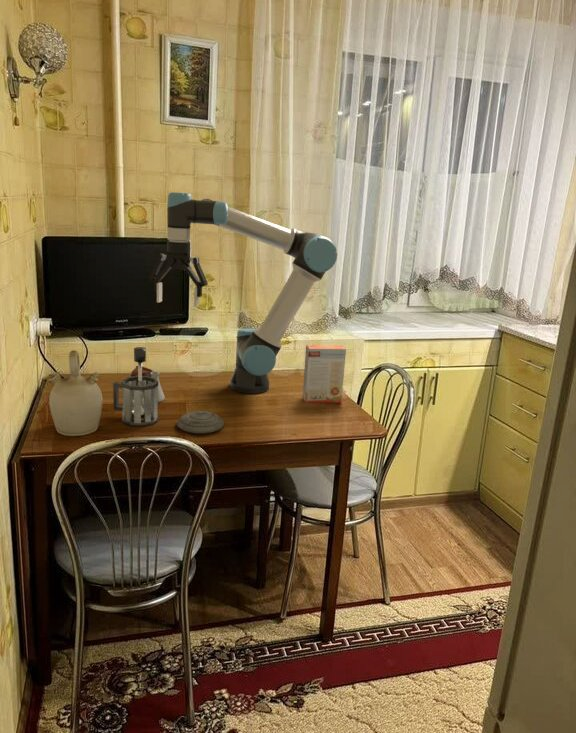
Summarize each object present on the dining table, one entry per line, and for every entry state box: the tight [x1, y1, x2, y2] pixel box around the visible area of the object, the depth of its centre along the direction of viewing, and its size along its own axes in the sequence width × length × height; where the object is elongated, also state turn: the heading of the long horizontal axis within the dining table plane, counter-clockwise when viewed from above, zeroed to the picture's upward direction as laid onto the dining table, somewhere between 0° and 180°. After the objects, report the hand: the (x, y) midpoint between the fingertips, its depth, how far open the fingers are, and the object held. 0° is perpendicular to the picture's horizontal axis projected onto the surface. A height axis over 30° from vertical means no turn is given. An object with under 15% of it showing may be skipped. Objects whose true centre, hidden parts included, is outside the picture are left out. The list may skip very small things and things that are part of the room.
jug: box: [48, 350, 103, 437], centre depth 182 cm, size 15×16×25 cm
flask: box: [150, 371, 166, 403], centre depth 213 cm, size 7×7×10 cm
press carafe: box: [112, 376, 159, 428], centre depth 195 cm, size 15×12×13 cm
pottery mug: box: [130, 365, 155, 386], centre depth 228 cm, size 12×10×8 cm
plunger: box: [132, 346, 152, 416], centre depth 192 cm, size 8×8×21 cm
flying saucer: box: [176, 410, 225, 434], centre depth 193 cm, size 15×15×6 cm
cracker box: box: [302, 344, 347, 404], centre depth 223 cm, size 14×6×21 cm, turn 99°
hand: (177, 304), depth 206 cm, fingers open, 13 cm apart
